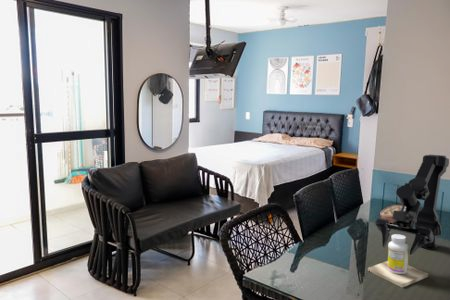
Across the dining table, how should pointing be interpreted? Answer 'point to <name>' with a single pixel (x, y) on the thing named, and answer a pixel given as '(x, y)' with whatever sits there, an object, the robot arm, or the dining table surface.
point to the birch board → (398, 279)
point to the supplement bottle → (398, 254)
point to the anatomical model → (390, 212)
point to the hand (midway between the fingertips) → (396, 250)
